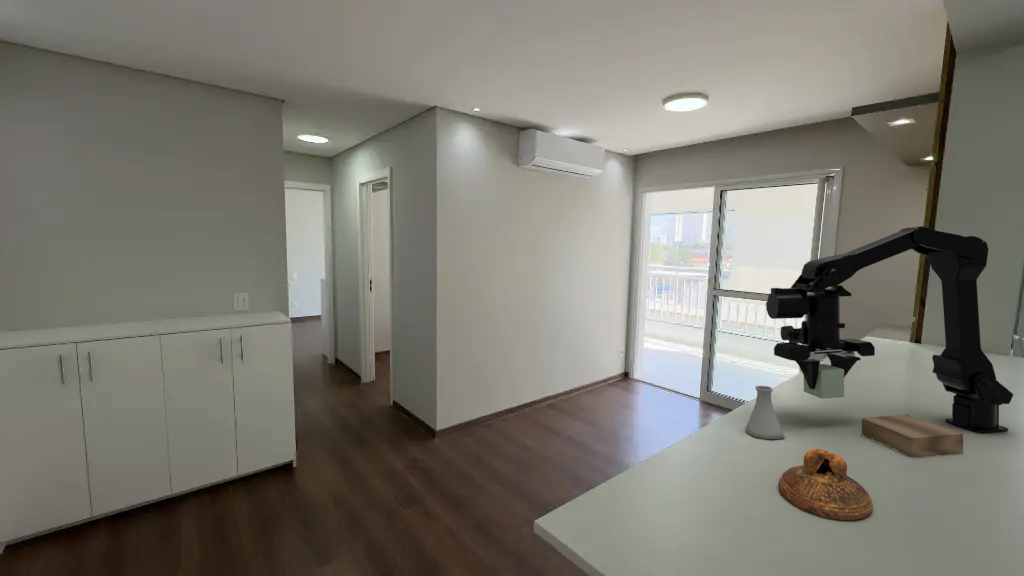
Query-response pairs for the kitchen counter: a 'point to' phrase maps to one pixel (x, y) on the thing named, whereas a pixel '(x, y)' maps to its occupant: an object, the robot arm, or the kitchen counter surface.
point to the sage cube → (827, 382)
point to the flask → (764, 417)
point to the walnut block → (913, 435)
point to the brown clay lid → (825, 487)
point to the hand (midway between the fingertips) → (823, 388)
